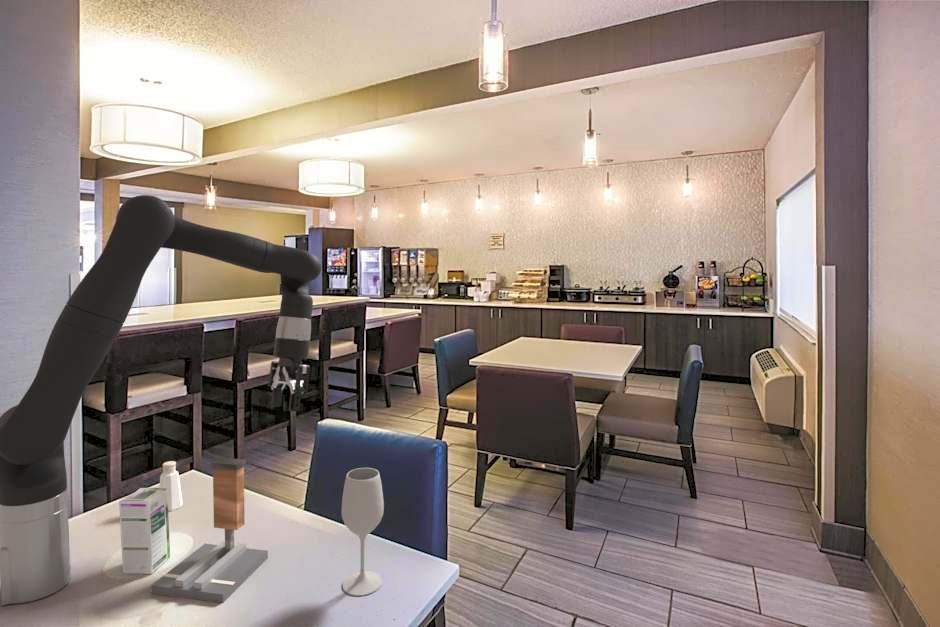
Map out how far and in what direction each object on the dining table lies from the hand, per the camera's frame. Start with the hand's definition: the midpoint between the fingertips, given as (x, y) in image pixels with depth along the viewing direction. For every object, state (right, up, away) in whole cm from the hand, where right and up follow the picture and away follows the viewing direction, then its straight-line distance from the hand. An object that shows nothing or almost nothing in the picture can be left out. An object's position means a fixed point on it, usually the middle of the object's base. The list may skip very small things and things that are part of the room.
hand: (284, 408), depth 112 cm
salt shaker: (-31, -26, +8) cm, 41 cm away
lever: (-6, -26, -14) cm, 30 cm away
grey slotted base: (-7, -28, -18) cm, 34 cm away
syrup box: (-21, -28, -16) cm, 38 cm away
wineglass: (+22, -29, -20) cm, 42 cm away
